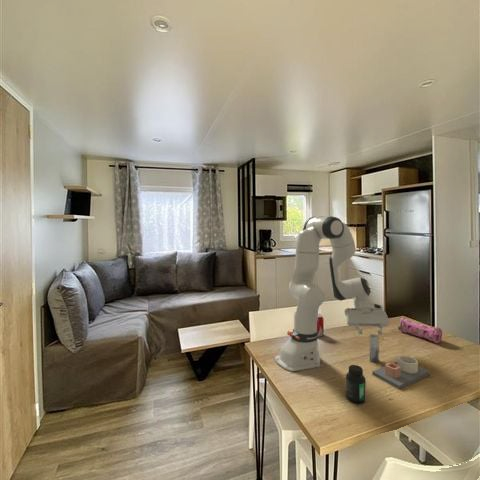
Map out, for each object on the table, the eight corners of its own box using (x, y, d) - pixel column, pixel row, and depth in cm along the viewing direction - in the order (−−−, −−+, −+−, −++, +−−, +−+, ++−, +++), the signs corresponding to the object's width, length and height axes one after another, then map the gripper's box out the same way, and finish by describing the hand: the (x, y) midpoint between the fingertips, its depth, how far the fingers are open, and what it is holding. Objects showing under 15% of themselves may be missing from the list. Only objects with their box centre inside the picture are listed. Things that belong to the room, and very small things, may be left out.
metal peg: (375, 363, 127) (375, 338, 126) (367, 359, 130) (367, 335, 130) (380, 361, 129) (380, 337, 128) (373, 357, 132) (373, 334, 132)
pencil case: (396, 332, 163) (396, 318, 162) (405, 329, 167) (406, 315, 166) (435, 346, 144) (436, 330, 143) (445, 342, 148) (445, 326, 147)
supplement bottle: (366, 406, 98) (367, 374, 97) (346, 403, 99) (347, 371, 99) (363, 394, 104) (364, 364, 103) (344, 392, 106) (345, 362, 105)
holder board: (399, 389, 107) (399, 375, 107) (372, 374, 118) (372, 362, 117) (428, 375, 117) (429, 362, 116) (401, 362, 127) (401, 351, 127)
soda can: (324, 337, 156) (324, 317, 156) (311, 337, 158) (311, 317, 157) (323, 333, 163) (323, 313, 163) (311, 332, 165) (311, 313, 164)
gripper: (344, 305, 142) (350, 330, 133) (385, 305, 139) (394, 331, 130) (342, 310, 146) (347, 335, 137) (382, 311, 144) (389, 336, 135)
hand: (370, 333), depth 134 cm, fingers open, 8 cm apart
